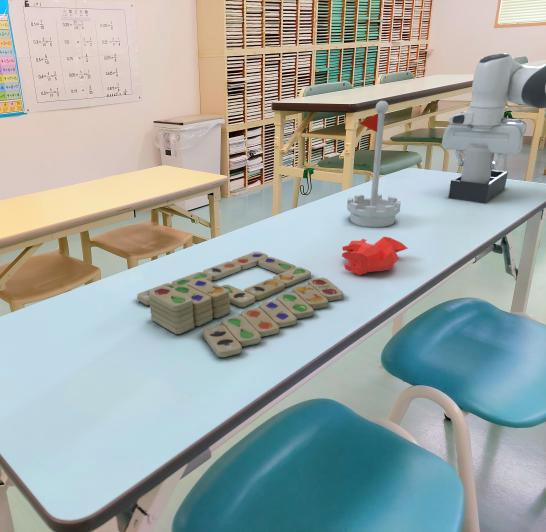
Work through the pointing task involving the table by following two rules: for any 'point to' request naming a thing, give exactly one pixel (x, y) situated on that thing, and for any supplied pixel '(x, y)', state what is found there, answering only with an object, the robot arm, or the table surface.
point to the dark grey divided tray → (478, 188)
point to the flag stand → (374, 184)
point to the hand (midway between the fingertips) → (477, 167)
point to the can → (477, 164)
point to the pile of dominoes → (238, 302)
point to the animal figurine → (372, 255)
